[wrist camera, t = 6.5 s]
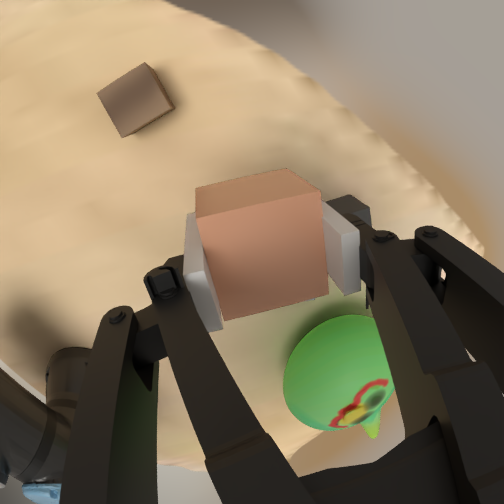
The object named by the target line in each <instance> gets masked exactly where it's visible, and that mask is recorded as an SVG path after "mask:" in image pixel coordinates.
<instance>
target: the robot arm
mask: <svg viewBox="0 0 504 504" xmlns="http://www.w3.org/2000/svg"><path fill="white" fill-rule="evenodd" d="M321 201H322V211H323V217H322V223H323V232H324V242H325V252H326V262H327V273H328V274H329V275H330V277H331V278H332V279H333V281H334V282H335V283H336V285H337V286H338V288H339V289H340V290H341V292H342V293H343V294H344V296H345V295H348V294H352V293H355V292H358V291H361V279H362V280H363V281H364V282H365V284H366V309H368V308H369V304H370V307H371V310H372V313H373V316H374V320H375V323H376V326H377V329H378V332H379V335H380V338H381V342H382V345H383V348H384V352H385V355H386V358H387V362H388V365H389V369H390V372H391V376H392V380H393V383H394V387H395V390H396V394H397V398H398V402H399V406H400V410H401V414H402V419H403V423H404V427H405V440H403V441H402V442H401V443H400V444H398V445H397V446H396V447H395V448H393V449H392V450H391V451H389V452H388V453H387V454H385V455H384V456H383V457H381V458H380V459H378V460H377V461H375V462H373V463H368V464H362V465H355V466H348V467H339V468H330V469H326V470H322V471H319V472H316V473H313V474H310V475H306V476H302V477H299V478H298V476H297V475H296V474H295V472H294V471H293V469H292V468H291V466H290V465H289V463H288V462H287V460H286V459H285V457H284V456H283V454H282V452H281V451H280V449H279V448H278V446H277V445H276V443H275V442H274V440H273V439H272V437H271V436H270V435H269V434H268V433H266V432H265V431H264V429H263V428H262V426H261V425H260V423H259V421H258V420H257V418H256V417H255V415H254V413H253V412H252V410H251V408H250V406H249V405H248V403H247V401H246V400H245V398H244V396H243V395H242V393H241V391H240V389H239V388H238V386H237V384H236V382H235V381H234V379H233V377H232V375H231V374H230V372H229V370H228V368H227V366H226V365H225V363H224V361H223V359H222V357H221V356H220V354H219V352H218V350H217V348H216V346H215V345H214V343H213V341H212V339H211V337H210V335H209V332H213V331H217V330H221V329H223V326H222V319H221V312H220V305H219V300H218V297H217V293H216V290H215V287H214V284H213V280H212V277H211V274H210V270H209V266H208V263H207V259H206V255H205V252H204V248H203V244H202V241H201V237H200V233H199V229H198V226H197V222H196V212H194V213H191V214H187V220H186V233H185V248H184V255H180V256H176V257H172V258H169V259H168V260H167V261H166V262H165V264H164V265H163V266H159V267H157V268H154V269H152V270H151V271H150V272H148V273H147V274H146V275H145V277H144V280H143V281H144V283H145V286H146V288H147V291H148V293H149V295H150V298H151V300H152V304H151V305H150V306H148V307H146V308H144V309H142V310H140V311H138V312H135V313H134V311H133V309H132V308H131V307H130V306H119V307H115V308H113V309H112V310H109V311H108V312H107V313H106V314H105V315H104V316H103V318H102V320H101V322H100V325H99V328H98V331H97V334H96V338H95V341H94V344H93V347H92V350H90V349H85V348H66V349H62V350H60V351H58V352H56V353H55V354H54V355H53V356H52V358H51V359H50V362H49V364H48V367H47V370H46V405H45V404H44V403H43V402H41V401H40V400H39V399H38V398H36V397H35V396H34V395H32V394H31V393H30V392H29V391H27V390H26V389H25V388H24V387H22V386H21V385H20V384H18V383H17V382H16V381H15V380H14V379H13V378H12V377H10V376H9V375H8V374H7V373H6V372H5V371H4V370H2V369H1V368H0V488H3V487H5V485H6V483H7V480H8V477H9V475H11V476H12V477H14V478H16V479H18V480H19V481H21V482H22V483H23V485H22V490H23V494H24V496H25V497H26V498H28V499H30V500H31V501H33V502H35V503H37V504H158V494H157V402H158V378H159V360H161V359H163V358H165V357H167V356H168V357H169V360H170V363H171V366H172V369H173V372H174V375H175V378H176V381H177V384H178V387H179V390H180V393H181V395H182V398H183V401H184V404H185V406H186V409H187V412H188V414H189V417H190V420H191V422H192V425H193V427H194V430H195V432H196V435H197V437H198V440H199V442H200V445H201V447H202V449H203V452H204V454H205V458H206V459H205V465H206V468H207V470H208V473H209V475H210V477H211V480H212V482H213V484H214V486H215V489H216V491H217V493H218V495H219V497H220V499H221V502H222V504H504V397H503V395H502V393H503V394H504V273H502V272H501V271H500V270H499V269H497V268H496V267H495V266H493V265H492V264H491V263H489V262H488V261H487V260H485V259H484V258H482V257H481V256H480V255H478V254H477V253H476V252H474V251H473V250H471V249H470V248H468V247H467V246H465V245H464V244H463V243H461V242H460V241H458V240H457V239H455V238H454V237H452V236H451V235H449V234H448V233H446V232H445V231H443V230H442V229H439V228H437V227H433V226H423V227H419V228H417V229H416V230H415V239H407V240H399V238H398V237H397V235H396V234H394V233H392V232H390V231H384V230H378V231H376V230H375V229H373V228H372V227H371V226H369V225H368V224H366V223H365V222H364V221H363V220H362V219H360V218H359V217H358V216H356V215H353V214H350V213H345V214H341V215H340V214H339V213H338V212H336V211H335V210H334V209H333V208H332V207H330V206H329V205H328V204H327V203H325V202H324V201H323V200H321ZM442 269H443V270H444V271H445V273H446V277H445V280H444V279H443V278H441V270H442ZM465 348H466V349H467V351H468V352H469V353H470V354H471V355H472V356H473V357H474V359H475V360H476V362H473V361H472V360H471V359H470V358H469V355H468V353H467V351H466V349H465Z"/></svg>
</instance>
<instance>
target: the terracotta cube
mask: <svg viewBox="0 0 504 504" xmlns="http://www.w3.org/2000/svg"><path fill="white" fill-rule="evenodd" d="M195 194H196V222H197V226H198V229H199V233H200V237H201V241H202V244H203V248H204V252H205V255H206V259H207V263H208V266H209V270H210V274H211V277H212V280H213V284H214V287H215V290H216V293H217V297H218V300H219V305H220V309H221V312H222V315H223V319H224V321H227V320H231V319H235V318H240V317H244V316H248V315H252V314H256V313H260V312H264V311H268V310H272V309H276V308H279V307H283V306H287V305H291V304H295V303H298V302H302V301H306V300H309V299H313V298H317V297H320V296H324V295H327V294H329V288H328V273H327V262H326V252H325V242H324V232H323V223H322V217H323V211H322V201H321V191H320V190H318V189H317V188H315V187H314V186H312V185H311V184H309V183H308V182H307V181H305V180H304V179H302V178H301V177H299V176H298V175H296V174H294V173H293V172H291V171H290V170H288V169H287V168H286V169H281V170H276V171H271V172H266V173H261V174H256V175H251V176H246V177H242V178H237V179H233V180H228V181H224V182H219V183H215V184H211V185H207V186H202V187H198V188H195Z"/></svg>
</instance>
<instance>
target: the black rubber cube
mask: <svg viewBox="0 0 504 504" xmlns="http://www.w3.org/2000/svg"><path fill="white" fill-rule="evenodd" d="M325 203H327V204H328V205H329V206H330V207H332V208H333V209H334V210H335V211H336V212H338V213H339V214H340V215H341V214H345V213H350V214H353V215H356V216H358V217H359V218H360V219H362V220H363V221H364V222H365V223H366V224H368V225H369V226H371V227H372V224H371V215H370V208H369V207H368V206H367V205H365V204H364V203H362V202H361V201H359V200H358V199H356V198H355V197H353V196H352V195H346V196H343V197H340V198H337V199H334V200H330V201H327V202H325Z"/></svg>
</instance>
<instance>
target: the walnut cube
mask: <svg viewBox="0 0 504 504" xmlns="http://www.w3.org/2000/svg"><path fill="white" fill-rule="evenodd" d="M97 95H98V97H99V99H100V100H101V102H102V104H103V106H104V108H105V109H106V111H107V113H108V115H109V116H110V118H111V120H112V122H113V123H114V125H115V127H116V129H117V130H118V132H119V134H120V136H121V137H122V138H124V137H126V136H129V135H131V134H133V133H135V132H137V131H138V130H140V129H141V128H143V127H145V126H146V125H148V124H150V123H151V122H153V121H155V120H156V119H158V118H160V117H161V116H163V115H165V114H166V113H168V112H170V111H172V110H173V109H175V108H174V106H173V104H172V102H171V100H170V99H169V97H168V95H167V93H166V92H165V90H164V88H163V86H162V84H161V83H160V81H159V79H158V77H157V76H156V74H155V72H154V70H153V69H152V68H151V67H150V66H149V65H147V64H146V63H145V62H144V63H143V64H141V65H139V66H138V67H136V68H134V69H133V70H131V71H129V72H128V73H126V74H125V75H123V76H122V77H120V78H118V79H117V80H115V81H114V82H112V83H111V84H109V85H108V86H106V87H105V88H103V89H102V90H100V91H99V92H98V93H97Z"/></svg>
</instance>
